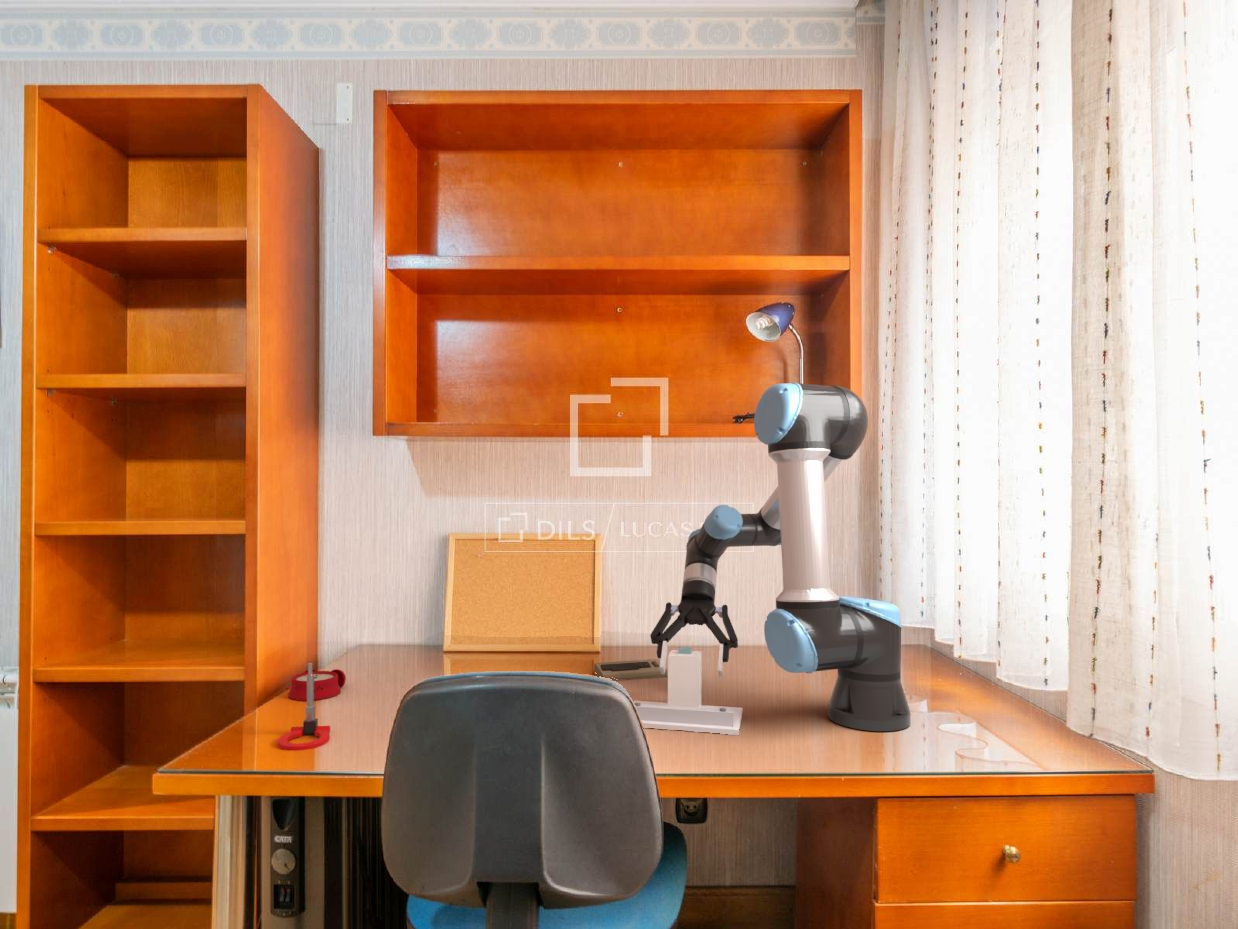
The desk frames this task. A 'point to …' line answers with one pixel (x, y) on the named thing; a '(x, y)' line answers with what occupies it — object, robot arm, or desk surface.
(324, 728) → the tow hook
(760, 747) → the desk surface
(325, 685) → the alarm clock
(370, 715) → the desk surface
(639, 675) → the computer
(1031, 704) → the desk surface
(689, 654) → the block
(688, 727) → the panel board
